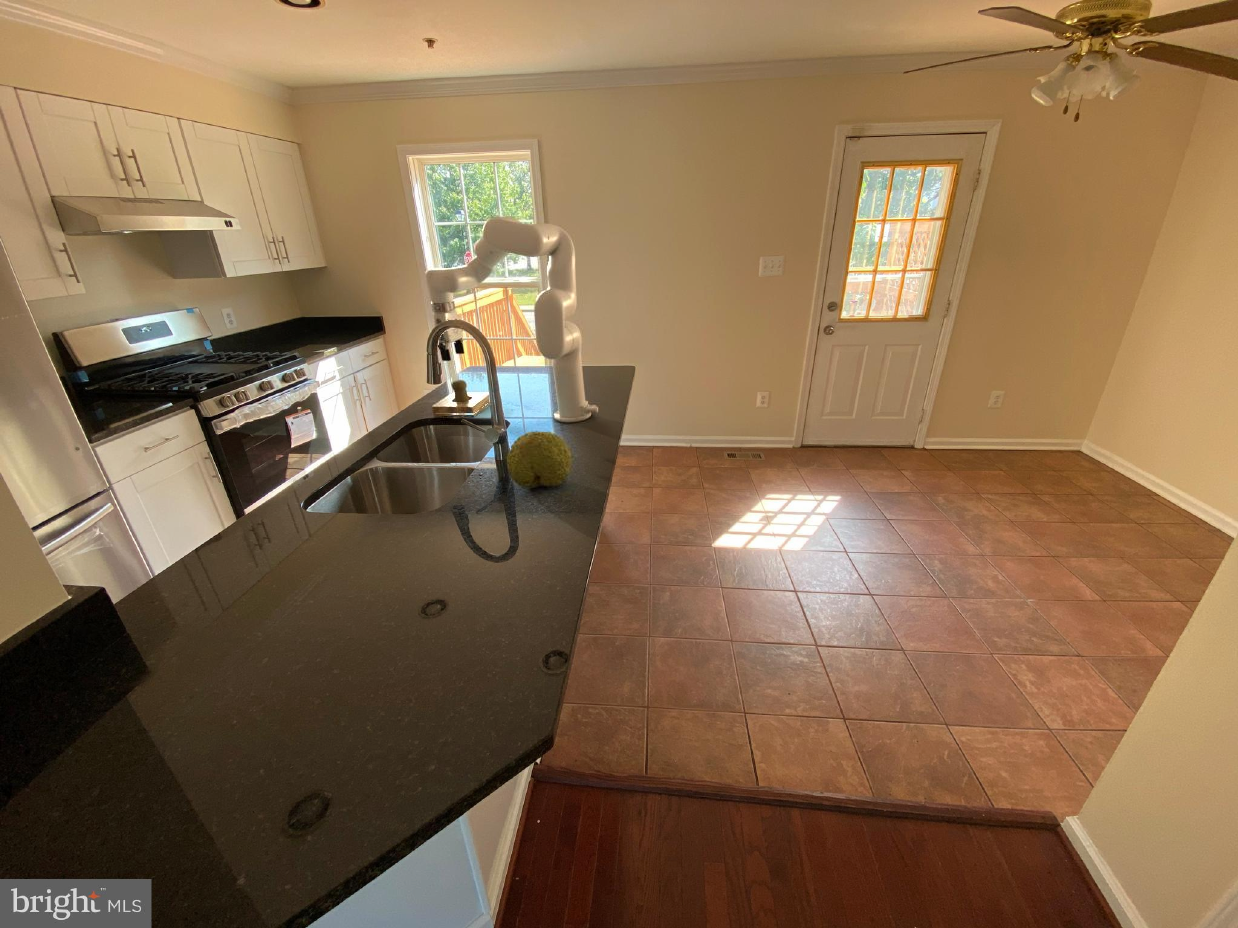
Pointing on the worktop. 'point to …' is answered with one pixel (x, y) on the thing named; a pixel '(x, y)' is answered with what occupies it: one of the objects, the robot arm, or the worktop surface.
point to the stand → (462, 404)
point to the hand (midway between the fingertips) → (453, 357)
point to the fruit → (539, 460)
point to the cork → (460, 391)
